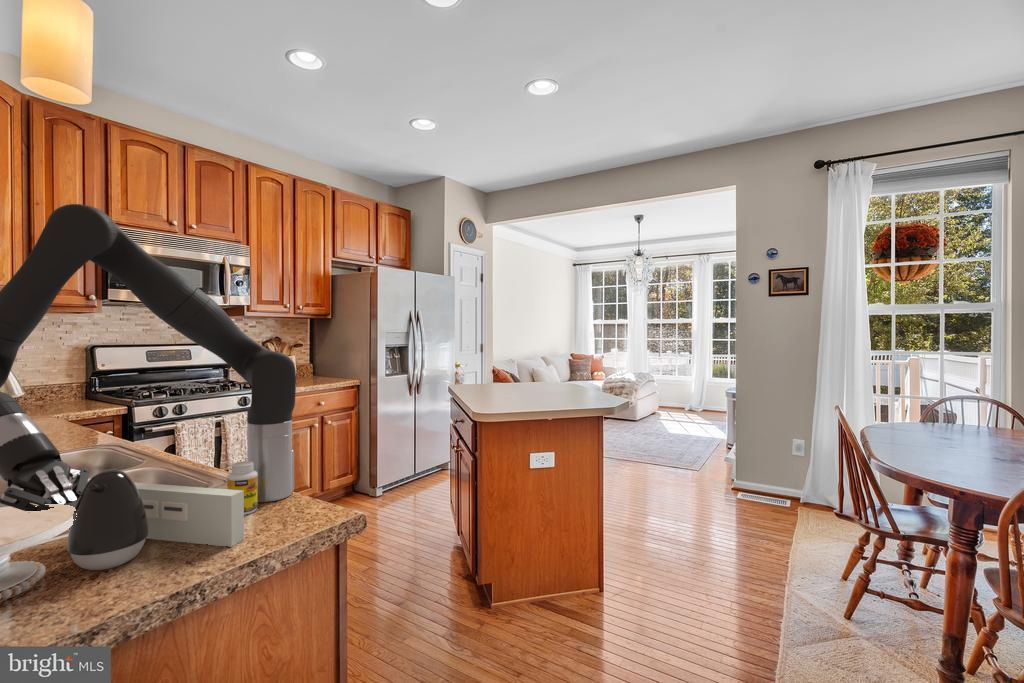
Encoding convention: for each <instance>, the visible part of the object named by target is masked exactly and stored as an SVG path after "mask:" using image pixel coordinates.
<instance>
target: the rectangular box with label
mask: <svg viewBox="0 0 1024 683" xmlns="http://www.w3.org/2000/svg"><path fill="white" fill-rule="evenodd" d="M133 482H134V484H135V485H136V487H137V489H138V491H139V494H140V496H141V499H142V502H143V505H144V508H145V512H146V516H147V521H148V536H147V537H146V539H148V540H156V541H158V540H159V541H167V542H175V543H176V542H177V543H185V542H186V543H188V544H199V545H206V544H208V545H209V546H219V547H226V546H228V548H232V546H233V547H234V546H236V545H237V543H238V544H239V543H241V542H243V541H244V540H245V515H244V491H242V490H229V489H227V488H226V489H225V488H214V487H200V486H187V485H176V484H175V485H172V484H160V483H147V482H135V481H133ZM146 539H145V540H146ZM242 540H243V541H242Z"/></svg>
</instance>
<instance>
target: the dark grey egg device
mask: <svg viewBox="0 0 1024 683" xmlns="http://www.w3.org/2000/svg"><path fill="white" fill-rule="evenodd" d="M134 482H135V481H134V480H133V479H132V478H131V477H130V476H129V474H128V473H126V472H125V471H123V470H119V469H115V468H114V469H113V468H111V469H106V470H105V469H104V470H102V471H100V472H98V473H97V474H95V475H93V476H92V477H91V478H90V479H88V482H87V484H86V486H85V488H84V489H83V491H82V493H81V495H80V497H79V500H78V502H77V505H76V508H75V509H76V511H74V514H73V519H74V521H73V525H72V526H71V527H70V529H68V533H67V541H66V542H67V543H66V549H67V552H68V553H69V554H70V556H71V559H72V561H73V562H74V564H75V565H77V566H78V567H81V568H82V569H85V570H88V571H89V570H90V571H103V570H110V569H113V568H117V567H119V566H122V565H123V564H125V563H127V562H129V561H131V560H132V559H133V558H135V557H136V556H137V555H138V554H139V553H140V552H141V550H142V549H143V546H145V545H144V544H145V542H146V537H147V536H148V521H147V516H146V512H145V508H144V505H143V502H142V499H141V496H140V494H139V491H138V489H137V487H136V485H135V484H134ZM76 513H77V515H76ZM76 516H77V517H76ZM75 519H76V520H75Z"/></svg>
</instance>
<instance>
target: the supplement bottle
mask: <svg viewBox="0 0 1024 683" xmlns="http://www.w3.org/2000/svg"><path fill="white" fill-rule="evenodd" d="M253 468H254V467H253V462H251V461H247V460H245V461H238V462H234V463H232V464H231V472H230V473H229V474H228V475H227V478H226V480H227V481H226V484H227V485H226V487H227V488H226V489H229V490H242V491H244V516H248V515H251V514H253V513H254V512H256V511H257V509H258V502H257V485H258V473H257V472H256V471H254V470H253ZM247 514H248V515H247Z"/></svg>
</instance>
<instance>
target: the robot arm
mask: <svg viewBox="0 0 1024 683" xmlns="http://www.w3.org/2000/svg"><path fill="white" fill-rule="evenodd" d="M89 261H90V262H91V263H94V264H95V265H97V266H99V267H100V268H101V269H103V270H104V271H106V272H107V273H109V274H111V275H112V276H113V277H115V278H116V279H117V280H119V281H120V282H121V283H122V284H123V285H124V286H125V287H126V288H127V289H128V290H129V292H131V293H132V294H133V295H134V296H135V298H137V299H138V300H139V302H141V303H142V304H143V305H144V306H145V307H146V308H147V309H148V310H150V311H151V313H153V314H154V315H155V316H156V317H158V318H159V319H160V320H162V321H163V322H164V323H166V325H168V326H170V327H171V328H172V329H174V330H175V331H177V332H179V334H182V335H183V336H184V337H186V338H187V339H189V340H190V341H192V342H193V343H194V344H196V345H198V346H200V347H201V348H203V349H205V350H207V351H209V352H210V353H212V354H214V355H215V356H216V357H218V358H220V359H221V360H223V361H224V362H225V363H226V364H227V365H228V366H229V367H230V368H232V370H234V371H235V373H237V374H239V375H240V377H242V378H243V380H245V381H246V382H247V383H248V384H249V385H250V386H251V397H250V398H251V399H250V400H251V401H250V407H249V409H248V410H247V413H246V414H247V415H246V420H247V421H246V422H247V423H246V426H247V427H246V428H247V429H246V430H247V432H246V433H247V438H246V441H247V442H246V446H247V448H246V449H247V450H246V451H247V452H246V453H247V455H246V458H247V460H246V461H251V462H253V467H254V468H253V470H254V471H256V472H257V473H258V485H257V503H265V502H266V503H267V502H275V501H279V500H284V499H285V498H288V497H289V496H291V495H292V493H293V491H294V490H295V451H294V449H293V411H294V409H295V405H296V391H297V388H296V387H297V372H296V366H295V363H294V362H293V361H294V360H293V359H292V358H291V357H290V356H288V355H287V354H285V353H283V352H279V351H275V350H274V351H273V350H270V349H268V348H267V347H265V346H264V345H262V344H260V343H258V342H257V341H256V340H254V339H252V338H251V337H250V336H249V335H247V334H246V333H244V331H242V330H241V329H240V328H239V327H238V325H237V324H235V321H233V319H232V318H231V317H230V316H229V315H228V314H227V312H226V311H225V310H224V309H223V308H222V307H221V306H220V305H219V304H218V302H217V301H215V300H214V299H212V298H211V297H210V296H209V295H208V294H206V293H205V292H204V291H202V290H201V288H199V287H197V286H196V285H195V284H194V283H192V282H191V281H189V280H188V279H187V278H186V277H184V276H182V275H181V274H179V273H178V272H177V271H175V270H174V269H172V268H171V267H169V266H167V265H166V264H164V263H163V262H161V261H160V260H158V259H156V258H155V257H153V256H152V255H151V254H150V253H148V252H147V251H146V250H145V249H143V247H141V246H140V245H139V244H137V243H136V242H135V240H134V239H133V238H131V237H130V236H129V235H128V233H126V232H125V231H124V230H122V228H121V227H120V226H119V225H118V224H116V222H115V221H114V220H113V218H111V217H110V216H109V215H108V214H107V213H105V212H104V211H102V210H101V209H99V208H96V207H94V206H91V205H87V204H81V203H71V204H65V205H62V206H59V207H58V208H56V209H54V210H53V211H52V212H51V213H50V215H48V218H47V222H46V224H45V225H44V227H43V230H42V232H41V233H40V235H39V238H38V240H37V241H36V243H35V245H34V247H33V248H32V250H31V251H30V253H29V254H28V256H27V257H26V259H25V260H24V261H23V263H22V265H21V266H20V267H19V268H18V270H17V271H16V272H15V274H14V275H13V276H12V277H11V278H10V279H9V281H7V283H6V284H5V285H4V286H2V288H1V289H0V389H1V388H2V387H3V386H4V385H5V383H6V382H7V380H8V379H9V376H10V373H11V371H12V368H13V365H14V363H15V360H16V358H17V354H18V352H19V349H20V347H21V346H22V345H23V344H24V342H26V340H27V339H28V338H29V336H30V335H31V334H32V333H33V331H34V330H35V329H36V328H37V327H38V325H39V324H40V323H41V321H42V319H44V317H45V316H46V314H47V312H48V311H49V310H50V308H51V306H52V304H53V303H54V301H55V300H56V298H57V297H58V295H59V293H60V292H61V290H62V289H63V287H64V286H65V285H66V284H67V283H68V281H69V280H70V279H71V278H72V277H73V276H74V275H75V274H76V273H77V272H78V271H79V270H80V269H81V268H83V267H84V266H85V264H87V263H88V262H89ZM90 473H91V470H90V469H89V468H88V467H83V468H81V470H79V469H74V468H71V466H70V465H69V464H68V463H66V462H64V460H62V458H61V454H60V451H59V450H58V448H57V447H56V446H55V445H54V443H53V442H52V441H51V440H50V438H49V437H48V435H46V434H45V432H44V430H42V429H41V427H40V425H38V424H37V423H36V421H35V420H33V419H32V418H31V417H30V416H29V415H28V414H27V413H26V412H25V410H24V409H23V407H22V406H21V405H20V404H19V402H18V401H17V400H16V399H15V398H14V397H13V396H12V395H10V394H8V393H6V392H2V391H0V477H1V478H2V480H3V481H5V482H7V483H6V486H7V487H8V488H6V489H5V491H4V492H3V493H2V495H0V504H1V505H4V506H5V505H6V506H8V507H11V508H14V509H18V510H21V511H24V512H26V511H41V510H48V509H50V508H54V507H49V505H45V504H64V505H70V506H73V507H75V508H76V505H77V502H78V500H79V497H80V495H81V493H82V491H83V489H84V488H85V486H86V484H87V483H88V482H89V477H90ZM290 492H292V493H290ZM35 506H37V507H35ZM69 529H70V528H69ZM69 529H68V530H69Z"/></svg>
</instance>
